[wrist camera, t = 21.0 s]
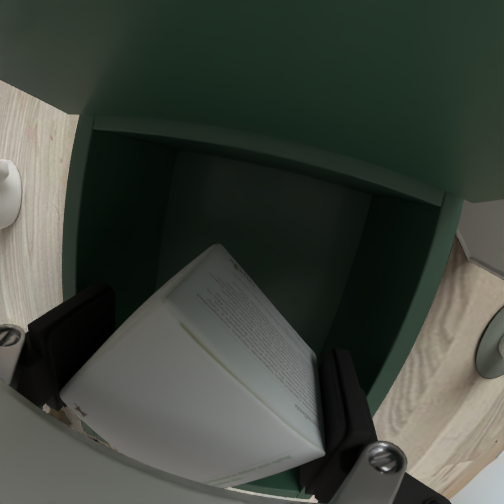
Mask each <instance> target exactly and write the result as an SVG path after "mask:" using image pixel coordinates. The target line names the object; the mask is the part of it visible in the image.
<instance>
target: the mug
mask: <svg viewBox="0 0 504 504" xmlns="http://www.w3.org/2000/svg"><path fill="white" fill-rule="evenodd" d="M21 196H22V189H21V180H20V175H19V172H18V170H17V168H16V166H15V164H14V163H13V162H12V161H10V160H4V159H0V229H2V228H5V227H8V226H10V225H11V224H13V222H14V221H15V220H16V218H17V216H18V213H19V210H20V205H21Z"/></svg>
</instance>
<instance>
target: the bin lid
mask: <svg viewBox="0 0 504 504" xmlns="http://www.w3.org/2000/svg"><path fill="white" fill-rule="evenodd" d="M0 80H1V81H4V82H6V83H8V84H10V85H12V86H14V87H16V88H18V89H20V90H22V91H24V92H26V93H28V94H30V95H32V96H34V97H36V98H38V99H40V100H42V101H44V102H46V103H48V104H50V105H52V106H54V107H56V108H58V109H59V110H61V111H63V112H65V113H67V114H82V115H115V116H132V117H145V118H156V119H166V120H175V121H183V122H191V123H198V124H205V125H212V126H218V127H224V128H230V129H236V130H241V131H247V132H252V133H257V134H262V135H267V136H271V137H276V138H281V139H285V140H289V141H293V142H298V143H302V144H306V145H310V146H313V147H317V148H321V149H325V150H328V151H332V152H336V153H339V154H342V155H346V156H349V157H353V158H356V159H359V160H362V161H365V162H368V163H372V164H375V165H378V166H381V167H384V168H386V169H389V170H392V171H395V172H398V173H401V174H403V175H406V176H409V177H411V178H414V179H417V180H419V181H422V182H424V183H427V184H429V185H432V186H434V187H437V188H439V189H442V190H444V191H446V192H449V193H451V194H453V195H456V196H458V197H460V198H462V199H465V200H467V201H469V202H471V203H480V202H487V201H495V200H502V199H504V0H0Z"/></svg>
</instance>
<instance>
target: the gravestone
mask: <svg viewBox="0 0 504 504" xmlns="http://www.w3.org/2000/svg"><path fill="white" fill-rule="evenodd" d="M456 236H457V238H458V240H459V242H460V244H461V246H462V248H463V250H464V252H465V254H466V257H467V259H468V261H470V262H471V263H473V264H475V265H477V266H479V267H481V268H483V269H484V270H486V271H488V272H490V273H492V274H493V275H495V276H497V277H499V278H500V279H502V280H504V199H502V200H495V201H487V202H480V203H471V202H469V201H467V200H465V199H464V203H463V207H462V211H461V216H460V220H459V223H458V227H457V231H456Z"/></svg>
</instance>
